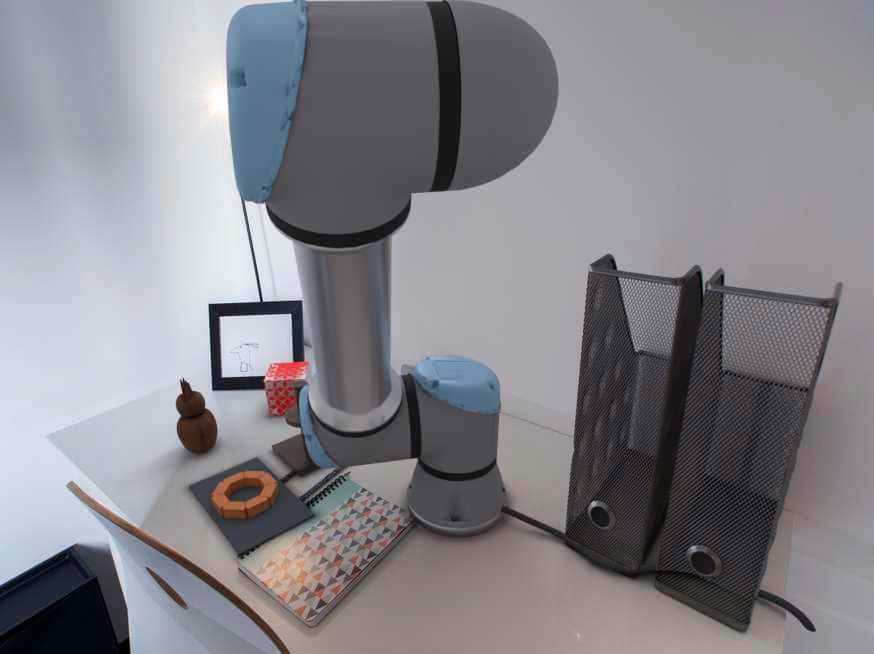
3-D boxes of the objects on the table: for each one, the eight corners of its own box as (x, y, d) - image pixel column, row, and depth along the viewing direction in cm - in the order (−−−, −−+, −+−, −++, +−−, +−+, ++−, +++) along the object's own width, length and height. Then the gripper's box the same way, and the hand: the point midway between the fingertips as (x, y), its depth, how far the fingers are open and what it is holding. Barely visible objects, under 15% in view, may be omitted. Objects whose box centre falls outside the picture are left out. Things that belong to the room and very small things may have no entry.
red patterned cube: (277, 396, 113) (270, 363, 109) (314, 394, 113) (309, 361, 110) (270, 416, 106) (263, 381, 102) (309, 413, 107) (304, 378, 103)
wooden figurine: (207, 460, 93) (186, 385, 86) (177, 457, 94) (155, 382, 87) (226, 439, 99) (208, 367, 92) (198, 436, 100) (179, 365, 93)
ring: (287, 499, 83) (286, 490, 82) (230, 527, 78) (227, 518, 77) (261, 472, 89) (259, 463, 88) (206, 496, 84) (203, 487, 83)
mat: (315, 516, 80) (314, 514, 80) (239, 555, 73) (239, 553, 73) (257, 458, 93) (256, 456, 93) (189, 487, 87) (188, 485, 87)
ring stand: (350, 454, 94) (342, 384, 87) (300, 477, 88) (287, 405, 81) (321, 431, 101) (311, 365, 94) (272, 452, 95) (259, 383, 88)
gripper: (402, 152, 75) (407, 295, 86) (311, 145, 92) (325, 266, 102) (358, 156, 71) (370, 307, 82) (272, 148, 88) (290, 274, 98)
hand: (345, 284), depth 92 cm, fingers open, 13 cm apart
